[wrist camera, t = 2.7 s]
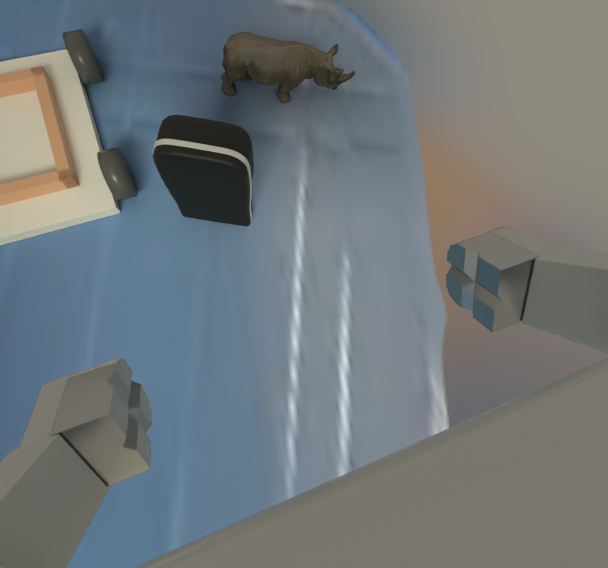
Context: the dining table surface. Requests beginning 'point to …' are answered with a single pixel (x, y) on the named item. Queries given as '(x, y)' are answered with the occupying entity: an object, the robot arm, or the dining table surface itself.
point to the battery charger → (206, 168)
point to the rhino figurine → (277, 64)
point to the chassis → (55, 145)
